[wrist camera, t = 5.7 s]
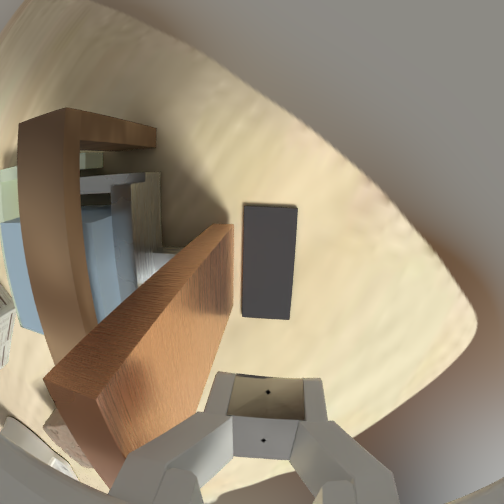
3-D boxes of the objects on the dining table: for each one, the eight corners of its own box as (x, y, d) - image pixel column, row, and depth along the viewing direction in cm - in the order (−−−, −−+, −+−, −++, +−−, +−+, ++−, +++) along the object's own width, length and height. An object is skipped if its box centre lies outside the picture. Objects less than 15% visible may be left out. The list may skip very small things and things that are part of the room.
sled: (233, 345, 18) (178, 538, 6) (70, 318, 20) (-38, 416, 7) (235, 170, 15) (49, 189, 3) (51, 180, 16) (-109, 219, 4)
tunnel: (170, 361, 20) (125, 443, 12) (135, 354, 20) (83, 427, 12) (156, 128, 16) (65, 107, 8) (115, 133, 16) (18, 123, 8)
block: (155, 306, 19) (114, 354, 13) (70, 293, 20) (22, 327, 14) (147, 204, 17) (92, 222, 11) (58, 206, 18) (0, 223, 12)
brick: (96, 449, 27) (83, 472, 23) (53, 406, 26) (36, 428, 21) (185, 441, 24) (173, 476, 19) (131, 386, 22) (109, 421, 18)
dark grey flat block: (289, 318, 18) (289, 319, 18) (242, 315, 18) (242, 316, 18) (297, 208, 16) (297, 208, 16) (244, 205, 16) (244, 206, 16)
